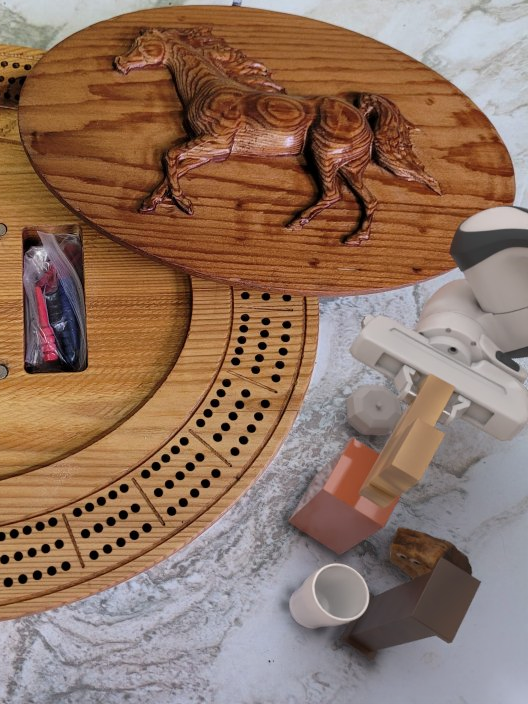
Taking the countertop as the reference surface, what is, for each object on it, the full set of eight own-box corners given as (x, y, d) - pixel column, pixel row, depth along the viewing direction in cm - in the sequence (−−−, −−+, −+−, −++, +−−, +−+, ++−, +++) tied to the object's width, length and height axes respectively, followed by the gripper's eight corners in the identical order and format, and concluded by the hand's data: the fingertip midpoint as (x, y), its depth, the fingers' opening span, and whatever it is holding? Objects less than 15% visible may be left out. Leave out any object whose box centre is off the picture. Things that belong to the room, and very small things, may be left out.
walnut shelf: (395, 612, 110) (481, 581, 87) (369, 661, 108) (452, 643, 84) (363, 591, 112) (440, 556, 88) (338, 639, 109) (410, 615, 86)
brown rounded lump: (368, 560, 113) (395, 545, 104) (387, 524, 115) (415, 505, 106) (452, 613, 110) (489, 602, 100) (470, 574, 112) (508, 560, 102)
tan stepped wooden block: (445, 396, 95) (484, 362, 86) (383, 509, 90) (417, 485, 81) (420, 382, 96) (456, 347, 87) (357, 493, 91) (388, 468, 82)
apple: (375, 387, 124) (390, 370, 118) (403, 434, 121) (419, 419, 115) (327, 404, 124) (340, 388, 118) (353, 452, 120) (368, 438, 114)
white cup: (323, 644, 109) (359, 632, 96) (275, 618, 111) (303, 603, 97) (341, 597, 111) (378, 579, 98) (293, 573, 113) (323, 552, 100)
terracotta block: (366, 508, 116) (413, 473, 100) (339, 555, 114) (384, 527, 98) (314, 476, 119) (352, 437, 103) (287, 521, 116) (322, 488, 100)
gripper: (380, 292, 104) (353, 340, 93) (542, 378, 97) (532, 440, 87) (355, 329, 107) (327, 379, 97) (509, 414, 101) (496, 477, 91)
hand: (425, 409), depth 92 cm, fingers closed on tan stepped wooden block, 3 cm apart
